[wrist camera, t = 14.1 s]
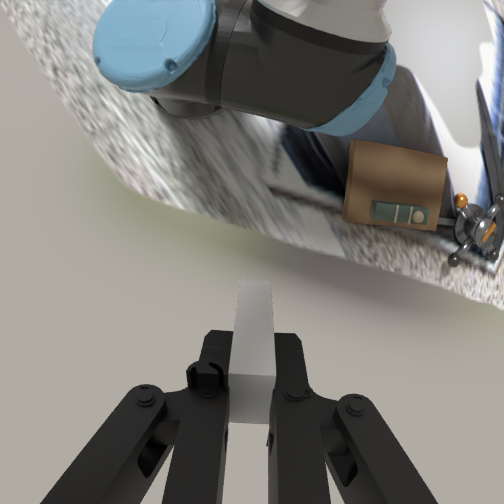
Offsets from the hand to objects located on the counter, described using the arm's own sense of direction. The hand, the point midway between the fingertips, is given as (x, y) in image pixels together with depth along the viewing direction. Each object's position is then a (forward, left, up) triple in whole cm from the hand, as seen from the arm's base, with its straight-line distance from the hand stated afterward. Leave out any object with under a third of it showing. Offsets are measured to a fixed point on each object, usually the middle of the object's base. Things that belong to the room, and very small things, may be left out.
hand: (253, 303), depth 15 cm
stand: (-3, +21, -32) cm, 39 cm away
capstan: (+2, +40, -31) cm, 51 cm away
